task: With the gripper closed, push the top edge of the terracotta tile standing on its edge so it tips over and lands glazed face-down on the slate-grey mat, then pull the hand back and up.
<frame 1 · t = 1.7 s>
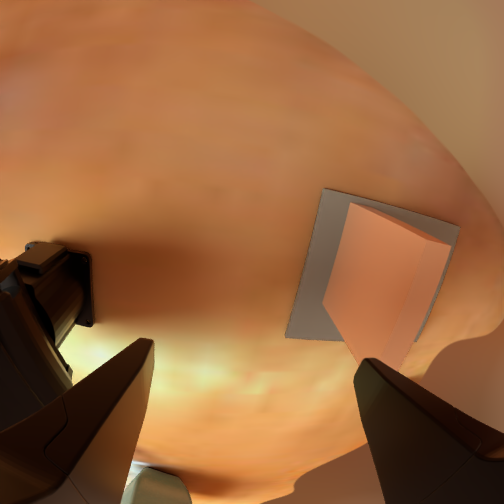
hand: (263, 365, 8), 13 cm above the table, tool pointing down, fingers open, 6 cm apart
slate mat: (381, 278, 23), on the table
flower pot: (157, 475, 31), on the table
tile: (347, 256, 21), resting on slate mat
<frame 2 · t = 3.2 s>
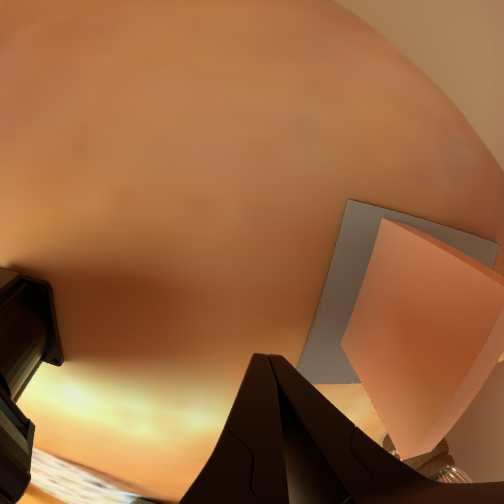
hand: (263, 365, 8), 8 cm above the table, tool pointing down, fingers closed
slate mat: (411, 310, 17), on the table
utensil holder: (404, 430, 23), on the table
tile: (374, 287, 16), resting on slate mat
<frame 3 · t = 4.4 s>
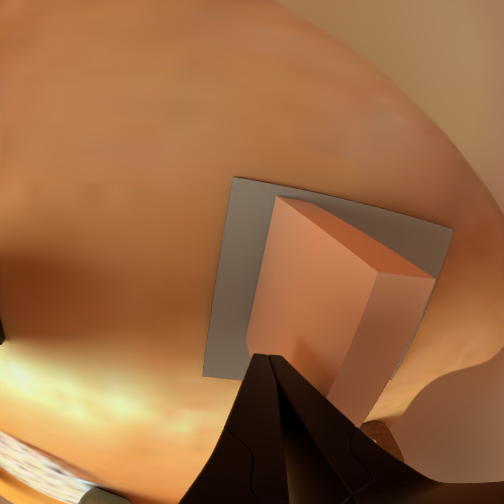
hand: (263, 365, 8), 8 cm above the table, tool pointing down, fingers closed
slate mat: (335, 304, 17), on the table
utensil holder: (356, 437, 23), on the table
flower pot: (108, 495, 25), on the table
tile: (276, 275, 15), resting on slate mat, touching gripper
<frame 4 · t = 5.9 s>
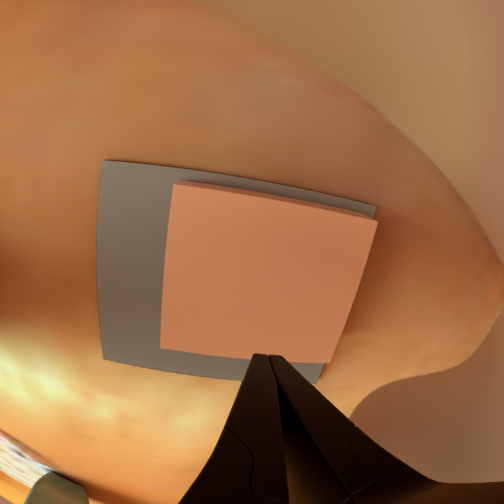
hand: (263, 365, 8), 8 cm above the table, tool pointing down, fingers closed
slate mat: (223, 291, 16), on the table
flower pot: (66, 481, 24), on the table
tile: (167, 268, 13), point 1 cm above the table, tilted 90°, touching slate mat
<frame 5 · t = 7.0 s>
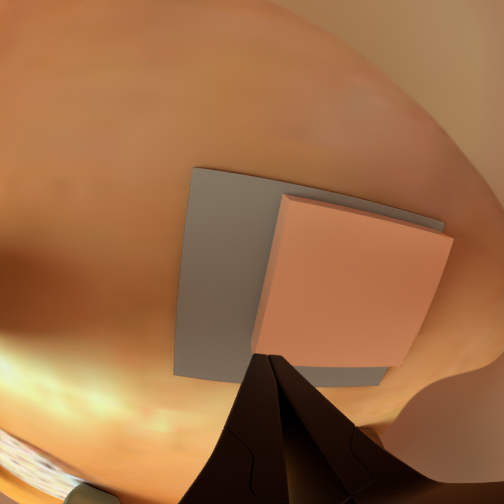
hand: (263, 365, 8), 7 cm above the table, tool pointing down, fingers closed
slate mat: (310, 302, 16), on the table
flower pot: (97, 491, 25), on the table
tile: (267, 283, 13), point 1 cm above the table, tilted 90°, touching slate mat
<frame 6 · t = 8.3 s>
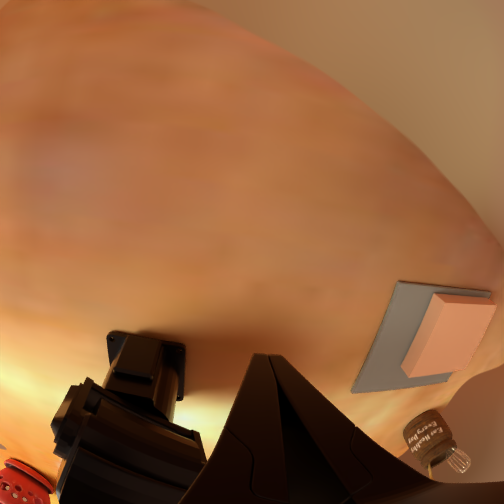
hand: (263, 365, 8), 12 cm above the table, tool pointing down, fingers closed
slate mat: (428, 341, 24), on the table
utensil holder: (418, 422, 30), on the table
tile: (422, 337, 22), point 1 cm above the table, tilted 90°, touching slate mat
plant pot: (30, 471, 31), on the table
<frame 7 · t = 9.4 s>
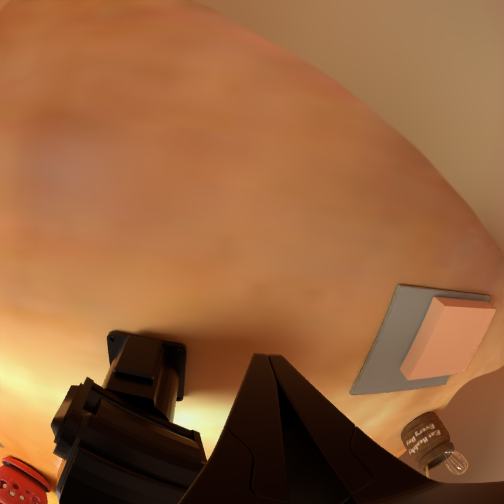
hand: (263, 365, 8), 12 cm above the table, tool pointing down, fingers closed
slate mat: (427, 344, 25), on the table
utensil holder: (416, 425, 30), on the table
tile: (421, 340, 22), point 1 cm above the table, tilted 90°, touching slate mat
plant pot: (27, 470, 31), on the table
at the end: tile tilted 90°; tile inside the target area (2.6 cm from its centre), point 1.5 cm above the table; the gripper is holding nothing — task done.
